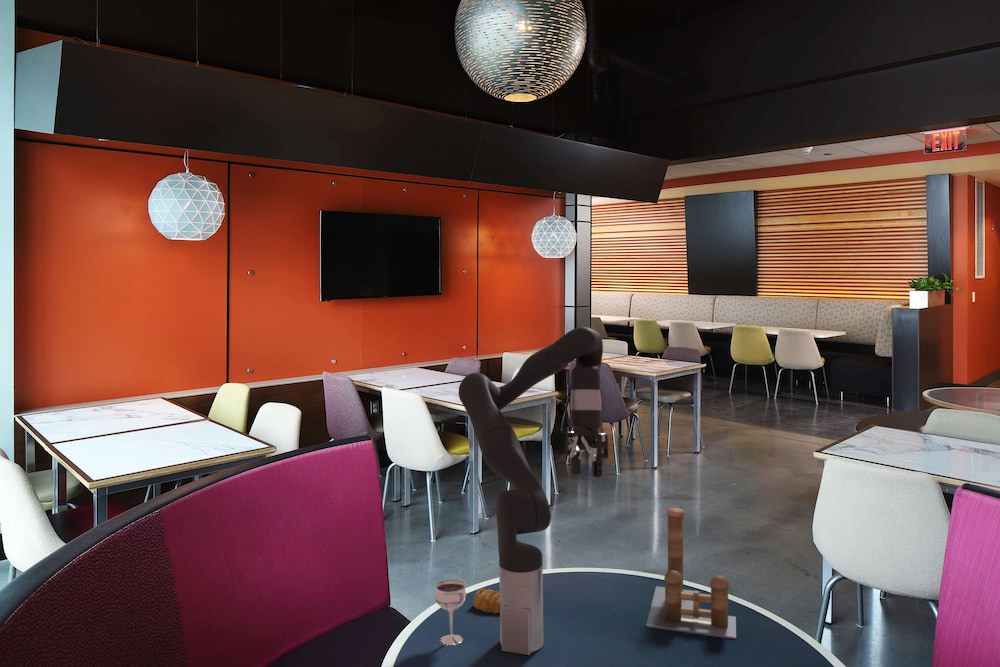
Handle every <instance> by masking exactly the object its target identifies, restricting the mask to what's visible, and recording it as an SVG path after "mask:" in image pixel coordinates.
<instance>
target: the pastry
mask: <svg viewBox="0 0 1000 667" xmlns="http://www.w3.org/2000/svg"><path fill="white" fill-rule="evenodd" d="M472 605H473V607H474V608H475V609H476V610H479V611H482V612H484V613H490V612H492V614H497V613H500V591H499V592H498V591H497V590H493V589H491V588H489V589H485V588H479V589H477V591H476V593H475V594H474V596H473V599H472Z"/></svg>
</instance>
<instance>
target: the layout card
mask: <svg viewBox="0 0 1000 667" xmlns="http://www.w3.org/2000/svg"><path fill="white" fill-rule="evenodd" d="M693 591H694V590H691V589H690V590H689V589H683V592H692V593H693ZM682 606H683V607H691V608H693V601H689V600H682ZM645 627H646V628H651V629H659V630H664V631H665V630H666V631H674V632H679V633H687V634H696V635H702V636H710V637H716V638H717V637H718V638H725V639H733V640H737V617H736V616H733V615H728V627H727V628H716V627H714V626H712V625H711V618H703V617H699V619H697V618H693V616H687V615H682V617H681V621H680V622H670V621H668V620H666V619H665V586H659V585H658V586H655V590H654V593H653V597H652V601H651V604H650V608H649V613H648V616H647V621H646V626H645Z"/></svg>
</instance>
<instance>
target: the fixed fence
mask: <svg viewBox="0 0 1000 667" xmlns="http://www.w3.org/2000/svg"><path fill="white" fill-rule="evenodd" d="M663 580H664V587H665V619H666V620H668V621H670V622H680V621H681V617H682V615H687V616H693V618H697V619H699V617H703V618H711V625H712V626H714V627H716V628H727V627H728V616H729V588H730V584H729V580H728V579H727V577H725V576H723V575H719V574H718V575H717V574H716V575H714V576H712V578H710V582H709V585H710V589H711V590H710V594H709V593H708V594H706V593H700V591H698V590H692V591H693V593H692V592H683V591H682V576H681V574H680V573H679V572H678V571H675V570H670V571H668V570H667V572H666V573H665V574H664V579H663ZM682 600H689V601H693V608H691V607H683V606H682ZM700 603H705V604H707V603H708V604H710V609H707V608H706V609H705V608H700Z"/></svg>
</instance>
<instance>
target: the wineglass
mask: <svg viewBox="0 0 1000 667" xmlns="http://www.w3.org/2000/svg"><path fill="white" fill-rule="evenodd" d="M466 586H467V584H466V582H464V581H463V580H461V579H460V580H459V579H455V578H454V579H451V578H450V579H443V580H441V581H438V582H437V583H435V585H434V587H435V589H436V590H435V594H434V598H435V601H436V602H435V603H436V604H437V605H438V606H439V608H441V609H443V610H445V611H447V612H448V614H449V615H448V616H449V632H450V635H449V634H445V635H446V636H445V635H443V636H442V637H440V639H441V640H439V642H440V641H441V642H442V643H443V644H442V643H441V642H440V643H441V644H442V645H444V646H448V645H449V647H451V646H452V645H453V646H457V645H460V644H461V643H462V642H463V640H464V638H463V637H462V636H461V635H459V634H456V635H455V633H453V620H454V615H453V614H454V611H456V610H458V609H459V608H461V607H462V606H463V604H465V601H466V599H467V591H466V589H465V588H466ZM459 643H460V644H459ZM445 644H446V645H445ZM450 645H451V646H450Z"/></svg>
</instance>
